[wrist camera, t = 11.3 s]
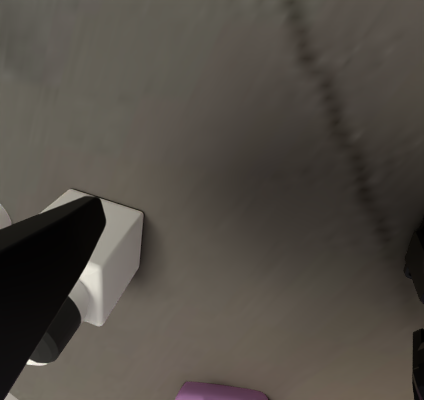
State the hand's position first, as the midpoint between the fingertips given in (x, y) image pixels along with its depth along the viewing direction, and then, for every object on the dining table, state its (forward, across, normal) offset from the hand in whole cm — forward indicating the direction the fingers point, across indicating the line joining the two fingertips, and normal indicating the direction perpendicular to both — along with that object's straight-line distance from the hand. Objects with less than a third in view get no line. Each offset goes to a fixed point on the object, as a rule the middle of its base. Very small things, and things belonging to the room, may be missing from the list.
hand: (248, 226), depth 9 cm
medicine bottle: (+13, +15, +13) cm, 24 cm away
